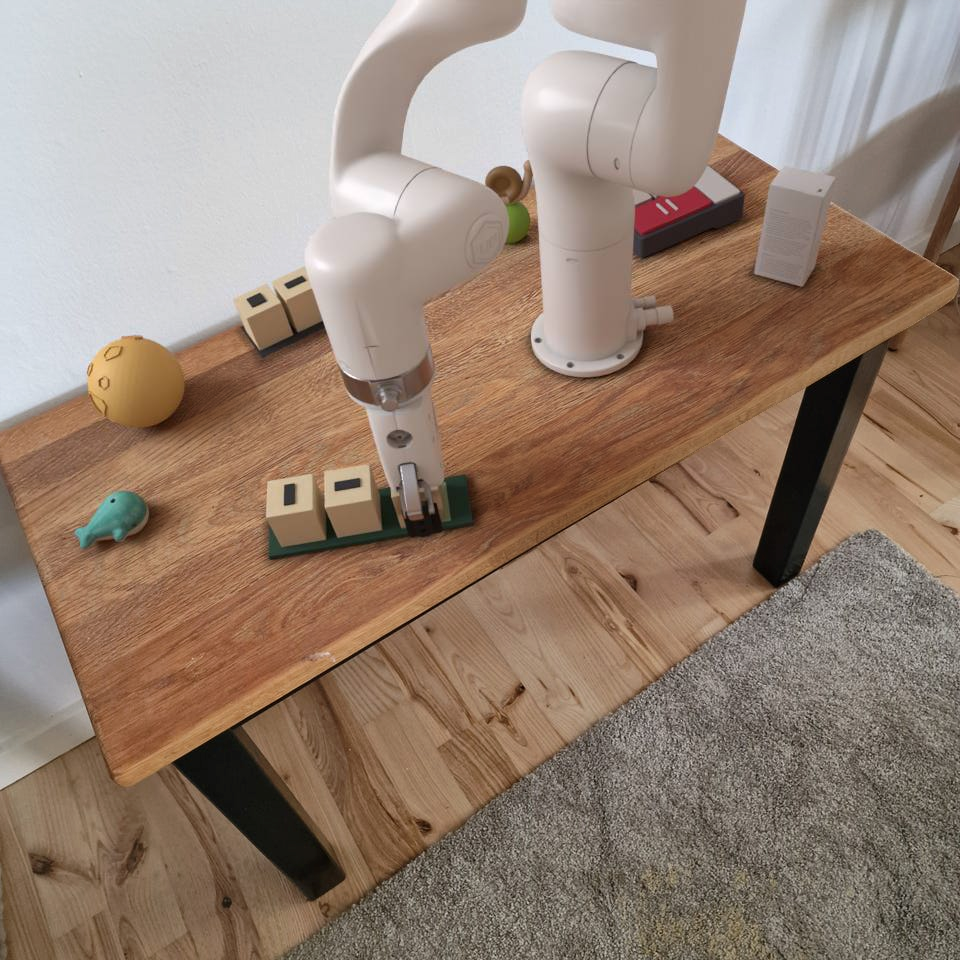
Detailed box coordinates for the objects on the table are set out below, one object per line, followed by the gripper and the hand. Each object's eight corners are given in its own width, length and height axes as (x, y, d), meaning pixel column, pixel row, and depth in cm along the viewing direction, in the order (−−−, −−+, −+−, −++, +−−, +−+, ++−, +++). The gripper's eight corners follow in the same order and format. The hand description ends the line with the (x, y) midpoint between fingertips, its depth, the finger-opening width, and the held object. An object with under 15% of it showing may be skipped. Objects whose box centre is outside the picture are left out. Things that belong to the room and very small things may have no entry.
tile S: (441, 485, 83) (433, 452, 78) (445, 520, 80) (438, 487, 76) (398, 492, 83) (388, 459, 78) (401, 528, 80) (390, 495, 76)
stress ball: (201, 376, 97) (167, 310, 90) (194, 437, 91) (157, 372, 83) (117, 390, 97) (76, 325, 89) (105, 452, 91) (60, 389, 83)
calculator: (595, 191, 106) (695, 148, 108) (596, 219, 109) (694, 177, 111) (641, 234, 99) (747, 188, 101) (641, 263, 103) (743, 218, 105)
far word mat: (382, 264, 107) (373, 226, 102) (409, 291, 103) (400, 252, 98) (241, 330, 102) (225, 293, 97) (263, 361, 98) (247, 324, 93)
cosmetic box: (815, 267, 98) (839, 176, 88) (802, 288, 96) (825, 197, 86) (765, 254, 100) (783, 164, 91) (751, 274, 98) (768, 184, 89)
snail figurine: (539, 249, 105) (535, 164, 96) (489, 253, 106) (480, 168, 97) (538, 224, 109) (533, 139, 99) (490, 228, 109) (480, 144, 100)
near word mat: (466, 477, 84) (459, 440, 79) (473, 525, 80) (466, 489, 75) (271, 510, 84) (253, 475, 79) (270, 560, 80) (250, 525, 75)
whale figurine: (160, 530, 84) (144, 508, 81) (91, 567, 82) (72, 545, 79) (142, 493, 87) (126, 471, 84) (75, 528, 85) (56, 506, 82)
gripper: (444, 435, 61) (471, 559, 74) (423, 288, 72) (450, 420, 85) (344, 452, 61) (389, 573, 74) (338, 303, 72) (378, 432, 85)
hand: (421, 491), depth 80 cm, fingers open, 9 cm apart
